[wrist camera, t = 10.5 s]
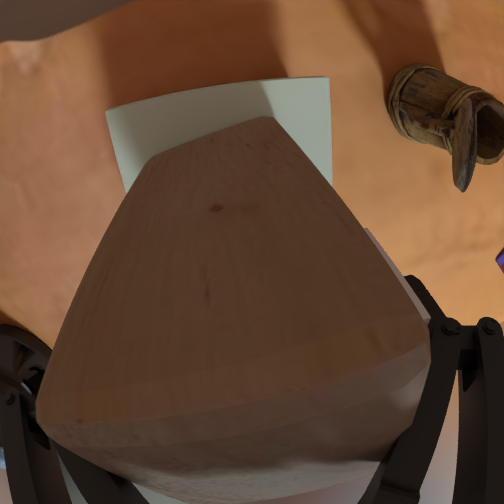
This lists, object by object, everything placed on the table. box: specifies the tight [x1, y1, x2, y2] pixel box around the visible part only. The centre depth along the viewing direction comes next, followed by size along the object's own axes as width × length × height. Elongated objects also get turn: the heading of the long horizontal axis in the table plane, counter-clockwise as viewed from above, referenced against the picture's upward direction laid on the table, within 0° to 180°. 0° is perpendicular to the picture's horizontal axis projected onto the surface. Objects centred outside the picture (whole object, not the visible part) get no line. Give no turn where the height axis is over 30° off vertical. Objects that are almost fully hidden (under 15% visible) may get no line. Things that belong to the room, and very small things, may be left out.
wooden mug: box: [388, 64, 504, 193], centre depth 20 cm, size 9×14×18 cm, turn 94°
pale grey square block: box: [105, 76, 332, 194], centre depth 27 cm, size 16×16×8 cm
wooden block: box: [35, 116, 431, 504], centre depth 16 cm, size 10×10×20 cm
